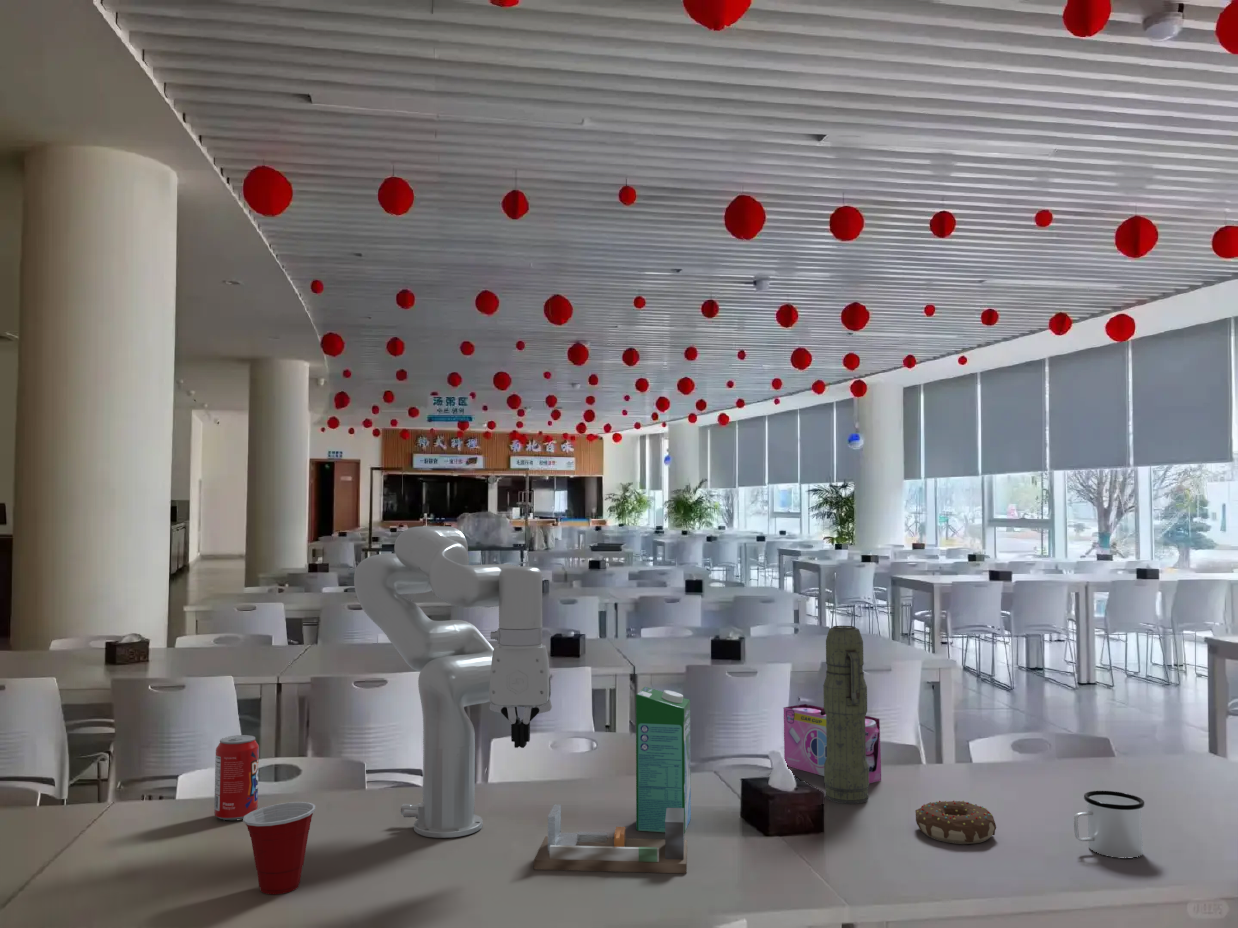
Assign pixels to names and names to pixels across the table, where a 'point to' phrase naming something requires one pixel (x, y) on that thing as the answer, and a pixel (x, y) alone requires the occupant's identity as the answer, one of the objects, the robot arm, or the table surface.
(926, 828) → the donut
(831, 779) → the thermos
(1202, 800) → the table surface
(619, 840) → the pointer
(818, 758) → the gum box
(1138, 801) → the mug
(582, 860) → the base
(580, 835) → the plunger
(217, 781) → the soda can
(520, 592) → the robot arm
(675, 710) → the milk carton
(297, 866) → the plastic cup
